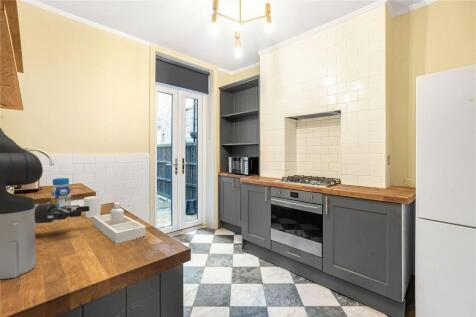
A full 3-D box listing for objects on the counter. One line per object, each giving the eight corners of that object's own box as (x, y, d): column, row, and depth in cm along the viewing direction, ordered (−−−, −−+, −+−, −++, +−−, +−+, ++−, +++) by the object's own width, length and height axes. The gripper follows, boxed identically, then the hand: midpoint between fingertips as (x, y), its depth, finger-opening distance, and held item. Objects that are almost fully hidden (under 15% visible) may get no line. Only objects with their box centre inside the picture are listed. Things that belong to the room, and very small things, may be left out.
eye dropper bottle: (120, 225, 101) (120, 198, 101) (124, 228, 97) (124, 200, 97) (109, 227, 98) (109, 199, 98) (113, 230, 94) (113, 201, 94)
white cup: (81, 218, 115) (81, 199, 115) (87, 214, 122) (87, 196, 122) (98, 217, 117) (98, 198, 117) (103, 213, 125) (103, 195, 124)
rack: (145, 236, 91) (145, 226, 91) (116, 243, 83) (116, 233, 83) (119, 220, 112) (118, 212, 112) (93, 225, 105) (93, 216, 104)
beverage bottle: (53, 215, 121) (52, 178, 121) (72, 213, 125) (72, 177, 125) (48, 219, 114) (48, 179, 113) (69, 217, 117) (69, 179, 117)
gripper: (27, 208, 83) (78, 205, 87) (48, 200, 97) (91, 198, 101) (27, 228, 83) (78, 225, 87) (48, 218, 97) (91, 215, 101)
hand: (85, 210), depth 94 cm, fingers open, 8 cm apart
